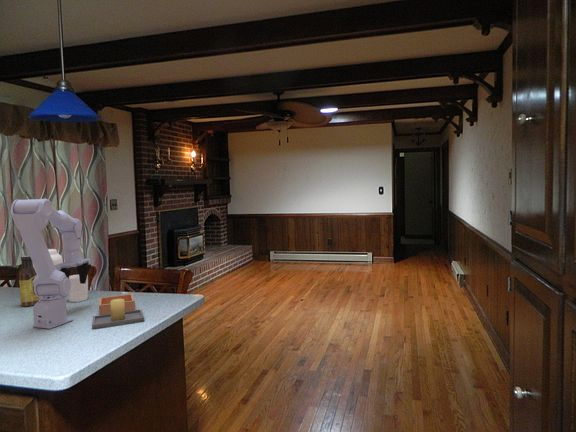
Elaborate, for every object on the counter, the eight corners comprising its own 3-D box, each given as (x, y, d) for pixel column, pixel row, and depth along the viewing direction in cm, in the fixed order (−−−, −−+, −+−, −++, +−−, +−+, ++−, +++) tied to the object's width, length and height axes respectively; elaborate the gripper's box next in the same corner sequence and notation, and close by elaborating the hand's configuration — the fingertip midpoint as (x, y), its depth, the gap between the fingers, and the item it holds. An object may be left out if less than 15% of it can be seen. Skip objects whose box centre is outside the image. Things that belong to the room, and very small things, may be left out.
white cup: (93, 297, 176) (91, 274, 175) (82, 302, 168) (80, 278, 168) (75, 297, 177) (74, 274, 176) (64, 302, 169) (62, 278, 168)
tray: (144, 321, 140) (144, 317, 140) (92, 329, 134) (92, 325, 134) (141, 313, 150) (141, 309, 150) (93, 320, 144) (92, 316, 144)
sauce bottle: (37, 305, 166) (33, 256, 164) (19, 307, 163) (15, 258, 162) (40, 301, 172) (37, 254, 170) (23, 303, 169) (19, 255, 168)
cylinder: (117, 321, 139) (116, 302, 139) (108, 319, 141) (107, 300, 141) (127, 318, 143) (127, 299, 143) (118, 316, 145) (118, 298, 145)
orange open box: (135, 311, 153) (134, 300, 152) (99, 316, 148) (98, 305, 148) (133, 303, 164) (132, 293, 163) (99, 308, 159) (99, 297, 159)
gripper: (63, 253, 147) (66, 290, 148) (95, 247, 161) (97, 281, 162) (49, 252, 150) (51, 289, 151) (82, 247, 163) (84, 281, 164)
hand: (74, 285), depth 156 cm, fingers open, 7 cm apart
